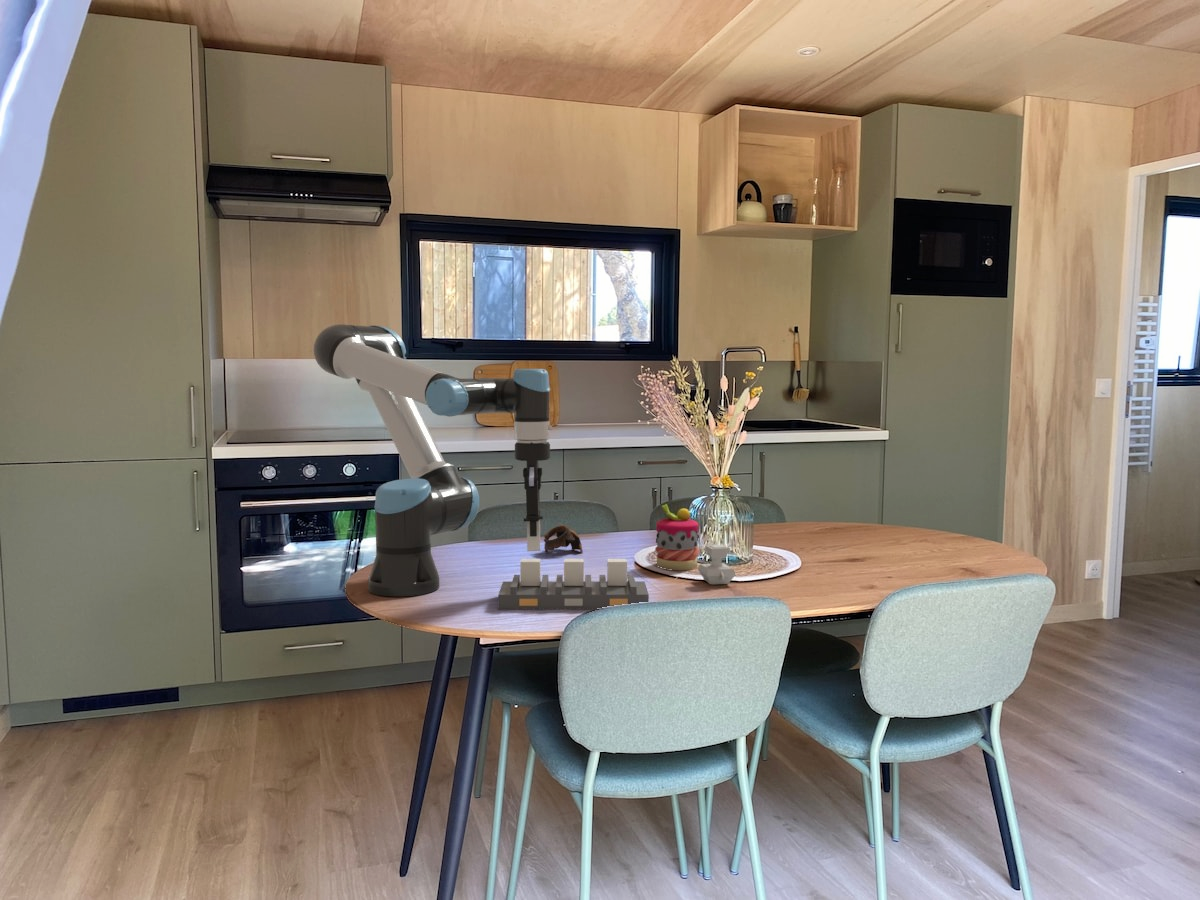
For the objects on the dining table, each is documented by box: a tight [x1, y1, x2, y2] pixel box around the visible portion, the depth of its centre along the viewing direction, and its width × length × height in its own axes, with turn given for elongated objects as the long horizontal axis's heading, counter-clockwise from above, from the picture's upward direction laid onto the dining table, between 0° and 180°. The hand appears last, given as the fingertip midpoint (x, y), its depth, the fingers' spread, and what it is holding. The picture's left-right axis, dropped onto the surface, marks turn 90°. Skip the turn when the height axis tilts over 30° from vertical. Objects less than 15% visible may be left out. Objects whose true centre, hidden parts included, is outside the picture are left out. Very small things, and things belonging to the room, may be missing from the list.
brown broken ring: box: [543, 524, 584, 554], centre depth 233 cm, size 12×10×8 cm
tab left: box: [520, 558, 542, 586], centre depth 185 cm, size 4×3×5 cm
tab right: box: [606, 558, 628, 586], centre depth 186 cm, size 4×3×5 cm
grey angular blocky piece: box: [697, 544, 736, 586], centre depth 200 cm, size 9×7×8 cm
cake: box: [655, 503, 700, 571], centre depth 217 cm, size 10×11×15 cm
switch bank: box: [497, 574, 650, 610], centre depth 183 cm, size 30×11×4 cm, turn 91°
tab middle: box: [563, 558, 585, 586], centre depth 185 cm, size 4×3×5 cm
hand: (533, 550), depth 192 cm, fingers closed
